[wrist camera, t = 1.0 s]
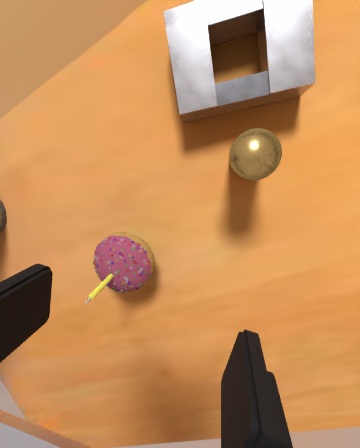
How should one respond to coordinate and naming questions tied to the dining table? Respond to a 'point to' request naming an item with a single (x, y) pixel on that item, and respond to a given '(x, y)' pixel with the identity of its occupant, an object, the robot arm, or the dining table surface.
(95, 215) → the dining table surface
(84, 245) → the dining table surface
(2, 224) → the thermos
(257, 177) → the brass capped cylinder
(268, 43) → the jig
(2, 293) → the robot arm
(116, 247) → the cupcake
